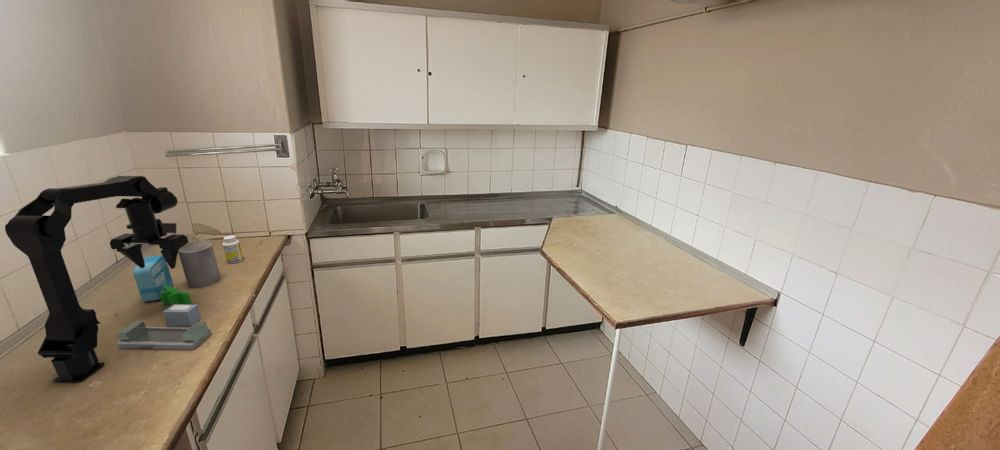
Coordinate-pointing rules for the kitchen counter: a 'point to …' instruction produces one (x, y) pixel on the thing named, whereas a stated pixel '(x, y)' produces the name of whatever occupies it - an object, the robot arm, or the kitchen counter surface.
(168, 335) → the rail
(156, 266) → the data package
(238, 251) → the supplement bottle
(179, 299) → the pipe clamp
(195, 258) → the pillar candle
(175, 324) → the block
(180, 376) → the kitchen counter surface
